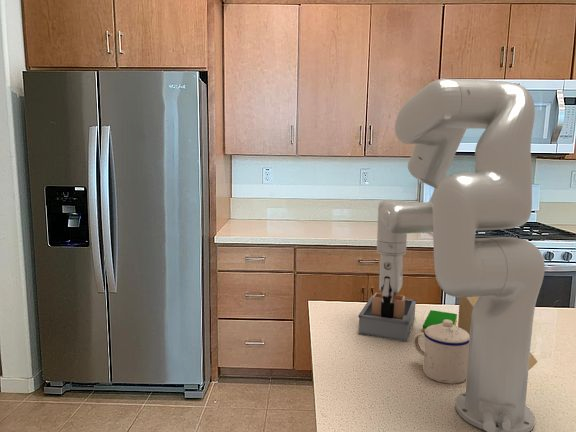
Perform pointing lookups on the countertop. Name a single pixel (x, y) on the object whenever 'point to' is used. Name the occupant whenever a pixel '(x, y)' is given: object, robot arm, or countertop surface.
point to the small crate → (398, 305)
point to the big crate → (387, 323)
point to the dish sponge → (438, 318)
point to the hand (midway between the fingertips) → (388, 313)
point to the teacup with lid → (444, 352)
